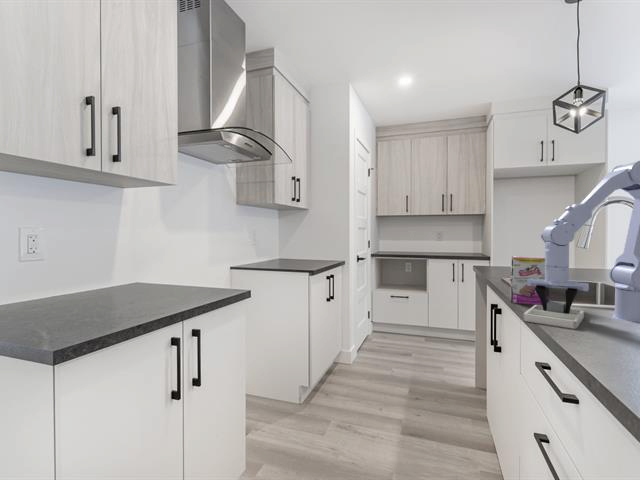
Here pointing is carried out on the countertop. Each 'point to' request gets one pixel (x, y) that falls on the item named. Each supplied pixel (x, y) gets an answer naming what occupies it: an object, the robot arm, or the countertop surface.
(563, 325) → the two-bin tray
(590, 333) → the countertop surface
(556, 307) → the slate block
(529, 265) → the candy bar box
